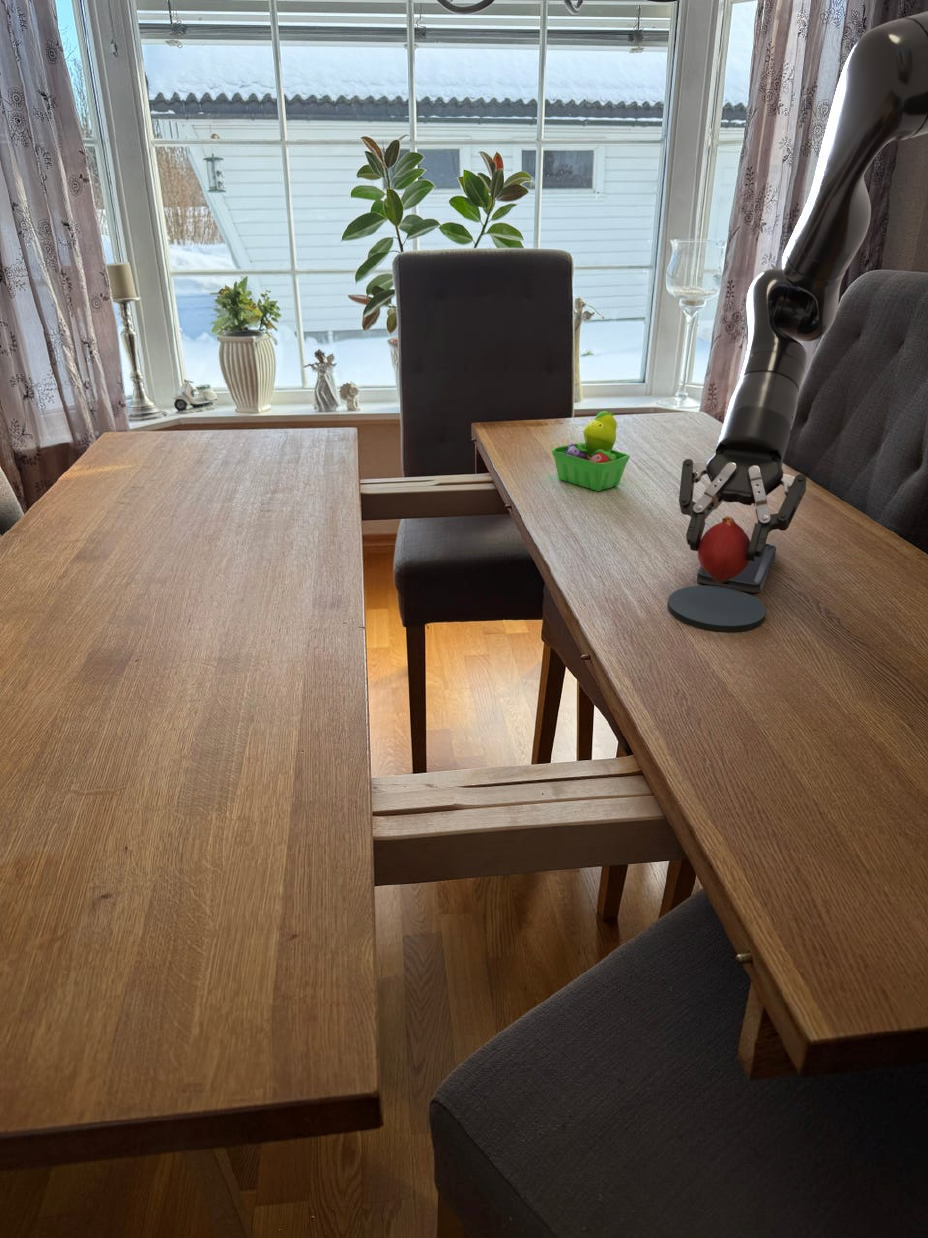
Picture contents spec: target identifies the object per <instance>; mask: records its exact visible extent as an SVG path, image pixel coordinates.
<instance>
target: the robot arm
mask: <svg viewBox="0 0 928 1238" xmlns="http://www.w3.org/2000/svg"><path fill="white" fill-rule="evenodd" d="M825 128H826V129H825V132H824V136H823V139H822V143H821V148H820V152H819V156H818V161H817V164H816V169H815V173H814V177H813V181H812V184H811V188H810V192H809V195H808V198H807V200H806V202H805V205H804V207H803V209H802V212H801V214H800V217H799V218H798V221H797V223H796V225H795V227H794V229H793V232H792V233H791V236H790V238H789V240H788V242H787V244H786V246H785V249H784V250H783V254H782V257H781V262H780V263H781V269H780V268H769V269H766V270H764V271H762V272H761V273H760V274H758V275H757V276H756V277H755V278H754V279H753V281H752V282H751V284H750V286H749V289H748V291H747V295H746V298H745V305H744V306H745V307H744V309H745V310H744V312H745V313H744V318H745V319H744V320H745V330H746V331H745V332H746V335H745V336H746V342H745V343H746V345H745V354H744V359H743V362H742V366H741V370H740V374H739V377H738V379H737V383H736V386H735V388H734V390H733V392H732V395H731V397H730V399H729V403H728V406H727V410H726V413H725V416H724V421H723V423H722V427H721V431H720V434H719V437H718V441H717V444H716V448H715V450H714V454H713V456H711V458H709V460H708V461H707V462H694V460H693V459H691V458H686V459H684V460H683V461H682V466H681V467H682V468H681V476H680V485H679V495H678V502H679V509H680V513H681V514H682V515H683V516H689V517H690V520H689V524H688V527H687V530H686V533H685V536H686V537H685V538H686V544H687V545H689V549H690V551H693V552H698V547H699V543H700V541H701V539H702V537H703V535H704V534H703V533H704V531H705V527H706V519H707V518H708V517H709V516H710V515H711V514H712V513H713V511H714V510H717V509H718V508H719V507H720V505H722V503H723V502H725V503H739V504H741V505H745V506H752V505H753V508H754V513H755V516H756V520H757V523H754V527H753V530H752V534H751V537H750V545H749V549H748V553H747V558H748V560H749V561H755V558H756V557H761V555H762V554H763V552H764V548H765V544H767V539H768V537H769V536H768V535H769V534H770V532H772V531H775V530H779V531H786V530H788V529H789V527H790V525H791V523H792V520H793V519H794V517H795V514H796V513H797V510H798V508H799V506H800V505H801V502H802V499H803V498H804V495H805V493H806V490H807V476H806V475H805V474H802V473H800V474H797V475H795V476H794V475H790V474H787V473H784V470H783V464H784V459H785V456H786V452H787V448H788V444H789V441H790V437H791V435H792V434H791V433H792V430H793V429H794V426H795V419H796V415H797V409H798V401H799V396H800V395H799V394H800V390H801V387H802V384H803V381H804V376H805V373H806V369H807V364H808V353H807V350H806V348H805V347H804V346H803V345H802V343H801V342H799V341H802V342H813V341H817V340H818V339H821V338H822V337H823V336H825V335H826V334H827V333H828V332H829V331H830V330H831V328H832V326H833V324H834V322H835V319H836V316H837V313H838V312H837V311H838V307H839V300H840V291H841V285H842V281H843V278H844V276H845V274H846V272H847V270H848V269H849V267H850V265H851V263H852V261H853V259H854V258H855V256H856V254H857V252H858V251H859V249H860V248H861V246H862V244H863V242H864V240H865V238H866V236H867V234H868V230H869V227H870V223H871V219H872V218H871V217H872V216H871V215H872V205H871V199H870V196H869V192H868V188H867V185H866V181H865V175H866V172H867V170H868V168H869V167H870V165H871V164H872V162H873V161H874V160H875V158H876V157H877V155H878V154H879V152H881V150H882V149H883V148H885V146H887V144H891V143H897V142H902V141H904V140H908V139H912V138H916V137H920V136H923V135H926V134H928V10H927V11H923V12H920V13H917V14H913V15H910V16H909V15H908V16H905V17H902V18H899V19H898V18H897V19H894V20H890V21H888V22H884V23H882V24H879V25H878V26H875V27H873V28H872V29H869V30H867V31H866V32H865V33H864V34H862V36H860V38H858V40H857V41H856V43H855V44H854V45H853V47H852V49H851V51H850V53H849V54H848V57H847V58H846V61H845V64H844V65H843V69H842V71H841V74H840V77H839V80H838V83H837V87H836V90H835V93H834V97H833V101H832V105H831V109H830V113H829V117H828V121H827V125H826V127H825ZM704 475H707V476H708V480H709V481H710V484H709V485H708V486H707V487H706V488H705V489H704V492H703V495H701V496H700V498H699V499H698V500H697V502H695V501H694V500H693V498H694V489H695V484H698V483H699V482H700V481H701V479H702V478H703V476H704ZM780 486H782V487H783V495H785V497H784V499H783V502H782V504H781V506H780V507H779V510H778V512H777V513H770V509H769V505H768V497H767V496H768V495H769V494H771V493H773V491H775V490H777V488H778V487H780Z"/></svg>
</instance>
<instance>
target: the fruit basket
mask: <svg viewBox="0 0 928 1238" xmlns="http://www.w3.org/2000/svg"><path fill="white" fill-rule="evenodd" d="M614 416H615V415H614V413H613V412H608V411H606V410H603V411H599V412H598V414H596V416H595V417H594V418H593V420H592V421H590V422H589V423H588V424H587V425H586V426H585V427H584V428H583V430H582V434H583V438H584V439H583V440H584V442H573V443H571V444H568V445H567V444H566V445H563V446H557V447H554V448H552V449H551V453H552V456H553V459H554V463H555V467H556V472H557V477H558V480H560V481H564V482H568V483H569V484H574V485H577V486H580V487H583V488H585V489H590V490H593V491H597V492H601V491H603V490H607V489H611V488H613V487H618V486H619V484H620V482H621V480H622V477H623V474H624V471H625V468H626V466H627V463H628V462H629V460H630V458H631V455H630V454H627V453H623V452H621V451H617V450H613V448H614V445H615V444H616V438H617V432H616V431H617V427H618V422H617V420H616V419H615V417H614Z"/></svg>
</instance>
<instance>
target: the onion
mask: <svg viewBox="0 0 928 1238" xmlns="http://www.w3.org/2000/svg"><path fill="white" fill-rule="evenodd" d="M750 541H751V539H750V538H749V535H748V534H747V533H746V532H745V530H744V529H743V528H742V527H741V526H740V524H737V523H736V521H735V519H734V517H732V516H730V515H725V516H724V517H723V518H722V521H721V522H718V523H717V524H715V525H713V526H711V527H710V528H708V529H707V530H706V532H704V534H703V535H702V537H701V541H700V543H699V547H698V551H697V559H698V561H699V564H700V566H702V568H703V569H704V570H705V571H706V572H707V573H709V574H710V575H711V576H712V577H713V579H714V580H715V581H716V582H719V583H723V582H726V581H727V580H729V579H731V578H733V577H735V576H737V575H738V574H740V573H741V572H742V571H743V570H744V569H745V568H746V567H747V565H748V564H749V562H750V561H749V560H748V558H747V553H748V549H749V545H750Z"/></svg>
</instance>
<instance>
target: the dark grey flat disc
mask: <svg viewBox="0 0 928 1238" xmlns="http://www.w3.org/2000/svg"><path fill="white" fill-rule="evenodd" d="M666 607H667V610H668V612H669V614H670V615H671V616H673V618H675V619H676V620H677V621H680V622H682V623H684V624H685V625H688V626H690V627H694V628H697V629H700V630H706V631H711V632H718V633H719V632H720V633H739V632H747V631H750V630H754V629H756V628H758V627H760V626H761V625H762V624H764V622H765V620H766V615H767V608H766V606H765V604H764V603H763V602H762V601H760V599H758V598H756V597H755V596H753V595H751V594H750V593H748V592H744V591H739V590H735V589H730V588H725V587H719V586H711V585H691V586H685V587H682V588H679V589H676V590H675V591H672V593H671V594H670V595H669V596H668V598H667V605H666Z"/></svg>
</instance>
